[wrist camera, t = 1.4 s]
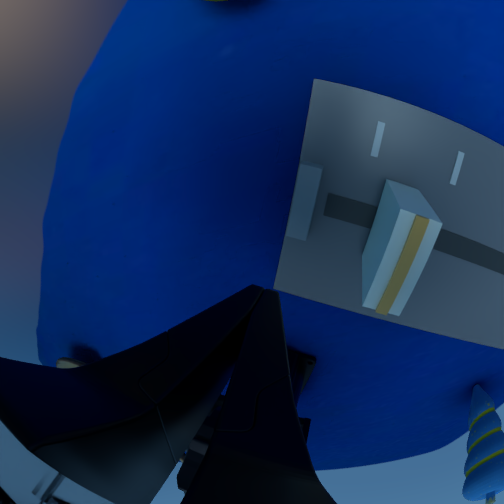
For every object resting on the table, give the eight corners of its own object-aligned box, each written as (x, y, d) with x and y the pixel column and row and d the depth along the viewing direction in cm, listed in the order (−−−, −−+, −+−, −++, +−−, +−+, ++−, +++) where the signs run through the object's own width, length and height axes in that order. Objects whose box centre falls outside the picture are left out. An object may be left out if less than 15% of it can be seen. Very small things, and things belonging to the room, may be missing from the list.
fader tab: (391, 264, 17) (399, 318, 12) (361, 255, 17) (362, 308, 13) (418, 189, 14) (443, 225, 10) (386, 178, 14) (401, 210, 10)
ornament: (447, 396, 23) (449, 522, 10) (473, 366, 20) (489, 505, 8) (479, 399, 22) (486, 514, 9) (505, 371, 19) (525, 495, 7)
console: (515, 338, 17) (524, 360, 15) (280, 273, 22) (269, 296, 20) (583, 205, 10) (602, 220, 7) (317, 81, 15) (311, 76, 12)
